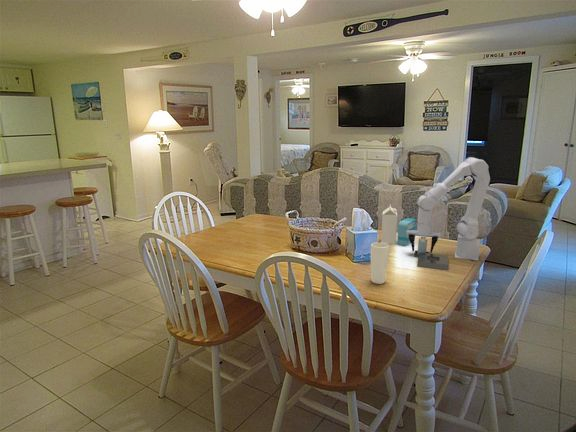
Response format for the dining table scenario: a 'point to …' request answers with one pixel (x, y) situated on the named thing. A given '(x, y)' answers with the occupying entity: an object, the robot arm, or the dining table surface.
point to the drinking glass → (379, 262)
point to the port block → (433, 261)
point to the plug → (422, 245)
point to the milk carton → (389, 226)
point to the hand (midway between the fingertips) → (422, 251)
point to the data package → (402, 228)
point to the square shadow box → (417, 253)
